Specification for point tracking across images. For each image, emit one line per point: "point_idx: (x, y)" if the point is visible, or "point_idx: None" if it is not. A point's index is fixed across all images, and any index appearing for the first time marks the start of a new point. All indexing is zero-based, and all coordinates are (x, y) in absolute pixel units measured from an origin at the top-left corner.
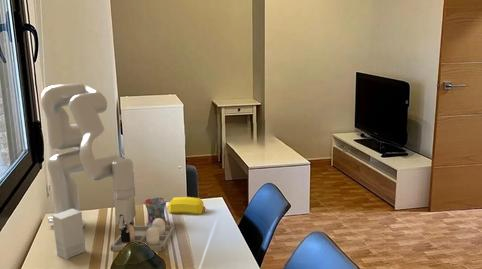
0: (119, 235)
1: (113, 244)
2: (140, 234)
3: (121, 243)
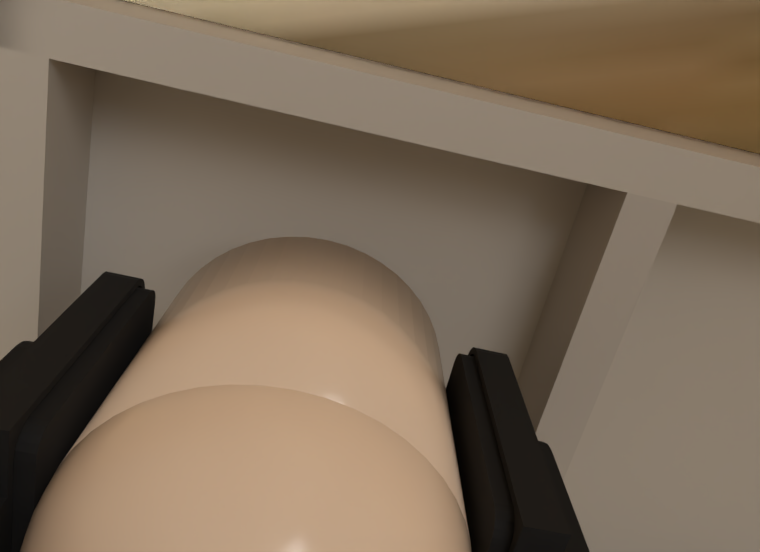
0: (675, 148)
1: (108, 50)
2: (736, 490)
3: (409, 184)
